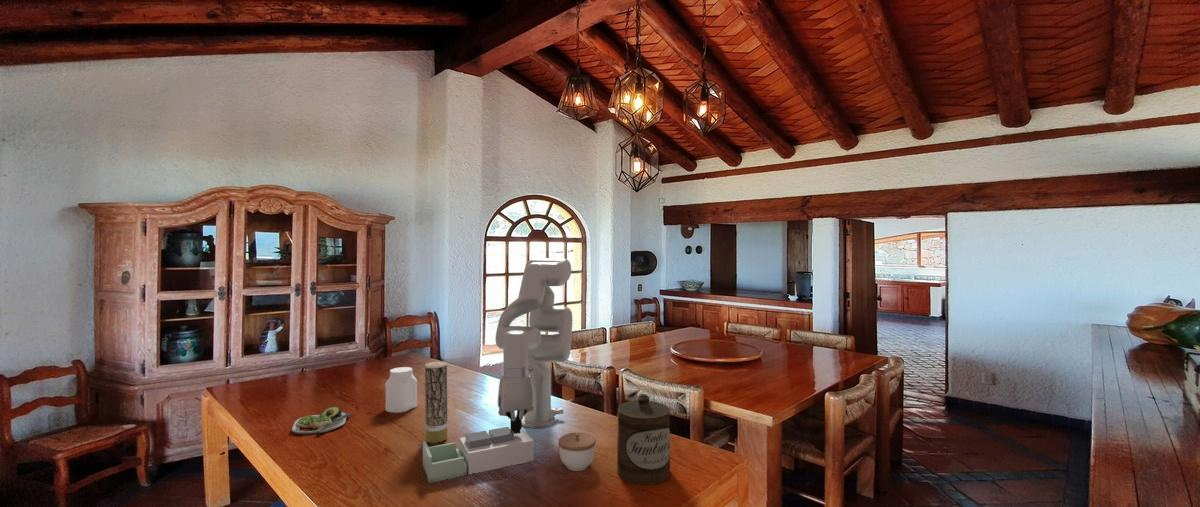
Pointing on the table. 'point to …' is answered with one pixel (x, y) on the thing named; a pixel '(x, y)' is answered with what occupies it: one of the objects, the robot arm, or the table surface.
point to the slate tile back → (501, 435)
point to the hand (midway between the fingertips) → (516, 432)
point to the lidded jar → (577, 450)
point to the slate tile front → (477, 439)
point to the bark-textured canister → (436, 401)
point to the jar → (401, 390)
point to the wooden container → (643, 441)
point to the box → (443, 462)
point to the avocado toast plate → (321, 421)
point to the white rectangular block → (498, 453)
